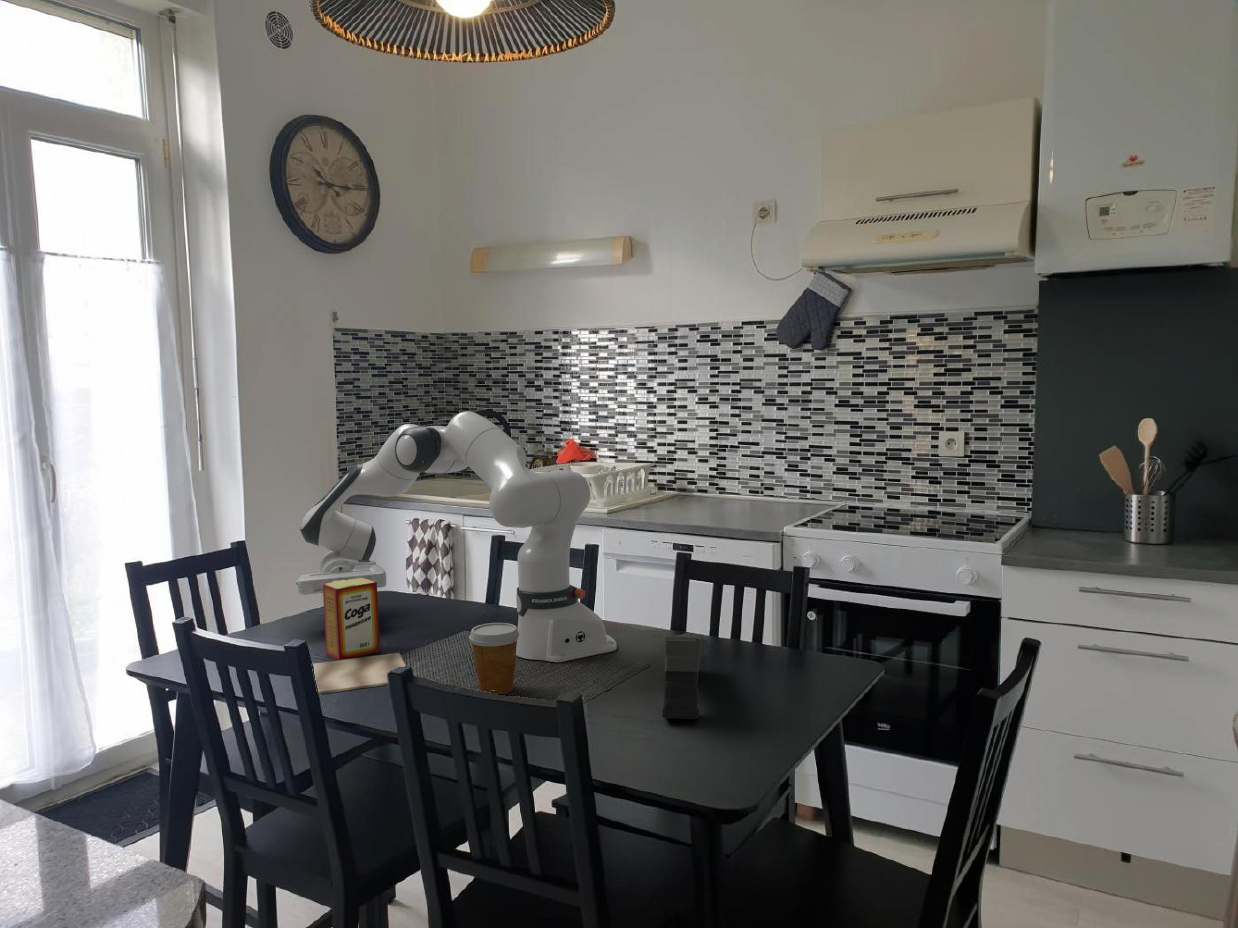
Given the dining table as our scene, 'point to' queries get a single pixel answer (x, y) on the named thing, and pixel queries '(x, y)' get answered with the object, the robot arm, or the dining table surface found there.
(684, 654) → the dark grey upright block
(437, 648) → the dining table surface
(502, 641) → the disposable coffee cup
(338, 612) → the baking soda box
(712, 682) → the dining table surface
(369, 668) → the oak board
